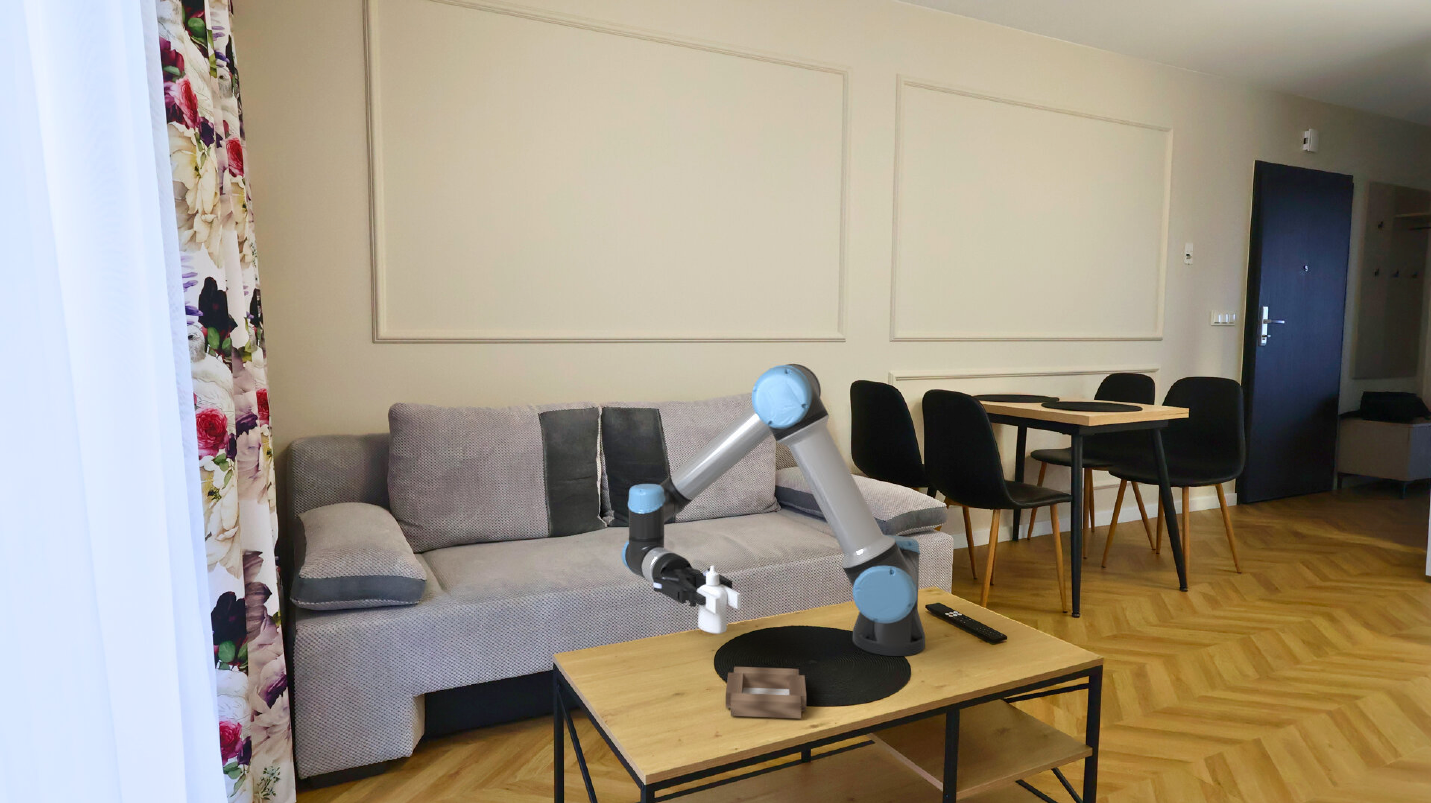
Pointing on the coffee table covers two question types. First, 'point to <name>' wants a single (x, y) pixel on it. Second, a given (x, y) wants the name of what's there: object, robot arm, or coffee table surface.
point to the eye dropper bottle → (719, 620)
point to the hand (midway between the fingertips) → (728, 603)
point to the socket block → (766, 692)
